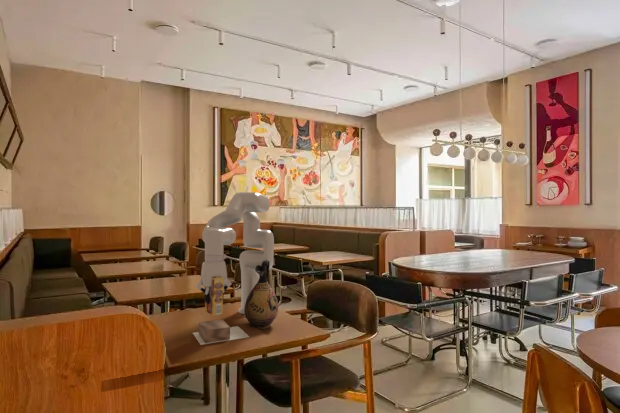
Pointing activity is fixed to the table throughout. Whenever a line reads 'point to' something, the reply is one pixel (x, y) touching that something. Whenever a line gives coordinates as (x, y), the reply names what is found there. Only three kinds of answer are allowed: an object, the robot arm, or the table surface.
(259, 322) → the ceramic jug
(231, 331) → the baseplate
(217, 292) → the candy box
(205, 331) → the walnut block
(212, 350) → the table surface
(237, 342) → the table surface
